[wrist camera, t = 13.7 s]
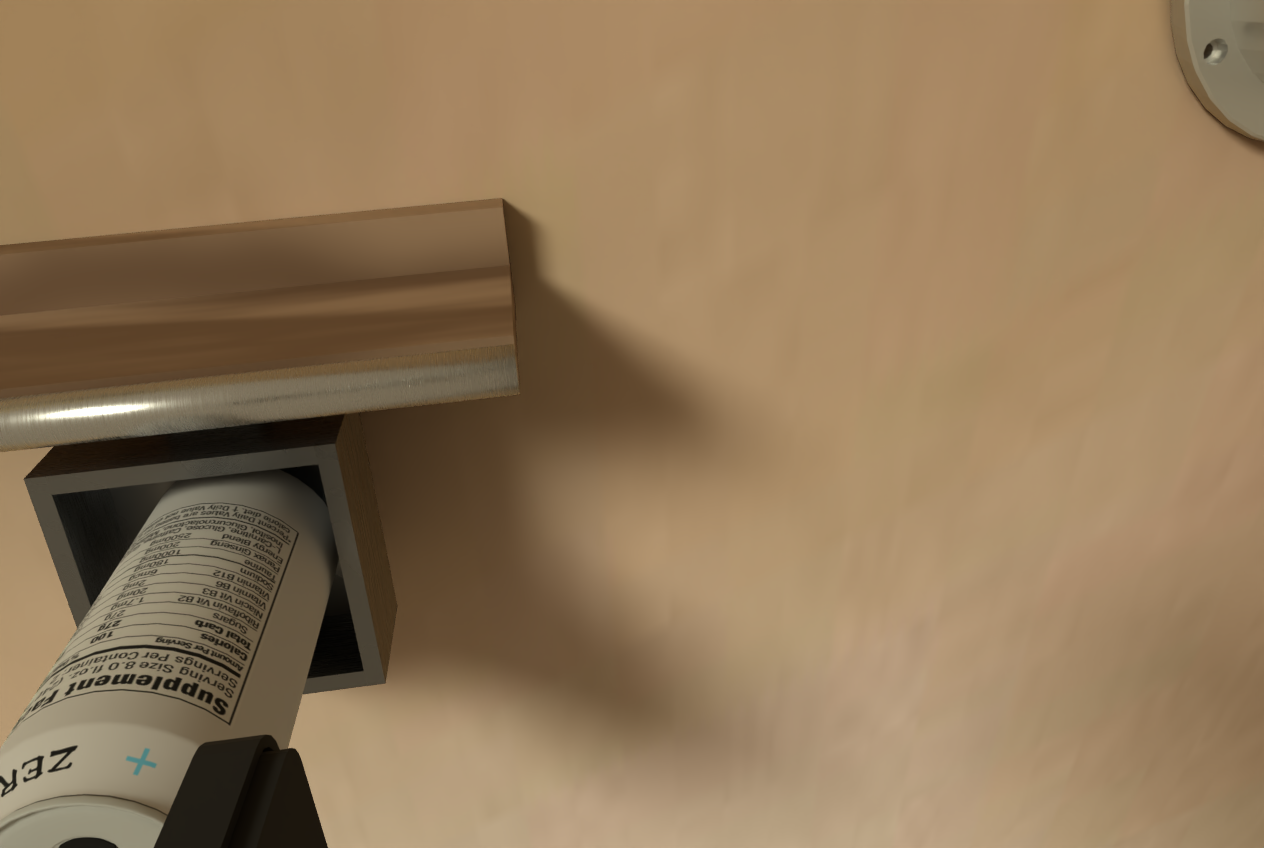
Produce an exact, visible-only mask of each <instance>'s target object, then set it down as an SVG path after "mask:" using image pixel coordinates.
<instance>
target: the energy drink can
mask: <svg viewBox="0 0 1264 848" xmlns="http://www.w3.org/2000/svg"><path fill="white" fill-rule="evenodd" d="M338 562H339V556H338V552H337V547H336V543H335V538H334V534H333V529H332V524H331V520H330V515H329V511H328V507H327V506H326V504H325V503H324V501H323V500H322V499H321V498H320V497H319V496H318V495H317V494H316V493H315V492H314V491H313V490H312V489H311V488H310V487H309V486H307V485H306V484H304V483H303V482H302V481H300V480H299V479H298V478H296V477H294V476H292V475H290V474H288V473H286V472H284V471H282V470H279V469H273V470H264V471H256V472H247V473H238V474H229V475H221V476H212V477H203V478H195V479H186V480H179V481H177V482H176V483H174V484H173V485H172V486H171V488H170V489H169V490H168V491H167V492H166V493H165V494H164V495H163V496H162V498H161V499H160V501H159V503H158V504H157V506H156V507H155V509H154V510H153V512H152V513H151V515H150V517H149V518H148V520H147V521H146V523H145V524H144V526H143V527H142V529H141V530H140V532H139V534H138V535H137V537H136V538H135V540H134V541H133V543H132V544H131V546H130V548H129V549H128V551H127V552H126V554H125V555H124V557H123V558H122V560H121V562H120V563H119V565H118V566H117V568H116V569H115V571H114V572H113V574H112V576H111V577H110V579H109V580H108V582H107V583H106V585H105V586H104V588H103V590H102V591H101V593H100V594H99V596H98V597H97V599H96V600H95V602H94V604H93V605H92V607H91V608H90V610H89V611H88V613H87V614H86V616H85V618H84V619H83V621H82V622H81V624H80V625H79V627H78V628H77V630H76V632H75V633H74V635H73V636H72V638H71V639H70V641H69V642H68V644H67V646H66V647H65V649H64V650H63V652H62V653H61V655H60V656H59V658H58V660H57V661H56V663H55V664H54V666H53V667H52V669H51V670H50V672H49V673H48V675H47V677H46V678H45V680H44V681H43V683H42V684H41V686H40V687H39V689H38V691H37V692H36V694H35V695H34V697H33V698H32V700H31V701H30V703H29V705H28V706H27V708H26V709H25V711H24V712H23V714H22V715H21V717H20V719H19V720H18V722H17V723H16V725H15V726H14V728H13V729H12V731H11V733H10V734H9V736H8V737H7V739H6V740H5V742H4V743H3V745H2V747H1V748H0V848H154V845H155V843H156V841H157V838H158V836H159V834H160V832H161V829H162V827H163V825H164V822H165V820H166V818H167V815H168V813H169V811H170V809H171V806H172V804H173V802H174V799H175V797H176V795H177V792H178V790H179V788H180V785H181V783H182V781H183V779H184V776H185V774H186V772H187V769H188V767H189V765H190V762H191V760H192V758H193V756H194V754H195V752H196V751H197V749H198V747H199V746H200V745H202V744H203V743H205V742H211V741H219V740H227V739H235V738H242V737H250V736H258V735H265V734H267V735H272V737H273V738H274V739H275V740H276V742H277V744H278V746H279V749H280V750H282V749H288V746H289V742H290V738H291V735H292V731H293V727H294V724H295V720H296V716H297V713H298V709H299V705H300V701H301V698H302V694H303V690H304V687H305V683H306V679H307V676H308V672H309V668H310V665H311V661H312V657H313V654H314V650H315V646H316V643H317V639H318V635H319V632H320V628H321V624H322V620H323V617H324V613H325V609H326V606H327V602H328V598H329V595H330V591H331V587H332V584H333V580H334V576H335V573H336V569H337V565H338Z"/></svg>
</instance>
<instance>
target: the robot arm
mask: <svg viewBox="0 0 1264 848" xmlns="http://www.w3.org/2000/svg"><path fill="white" fill-rule="evenodd" d="M1171 27H1172V32H1173V38H1174V44H1175V49H1176V55H1177V58H1178V60H1179V63H1180V65H1181V67H1182V70H1183V72H1184V75H1185V77H1186V80H1187V82H1188V85H1189V86H1190V87H1191V89H1192V90H1193V92H1194V93H1195V95H1196V96H1197V97H1198V99H1199V100H1200V102H1201V103H1202V105H1203V106H1204V108H1205V109H1207V110H1208V111H1209V112H1210V113H1211V114H1212V115H1214V116H1215V117H1216V118H1217V119H1218V120H1219V121H1220V122H1222V123H1223V124H1224V125H1225V126H1226V127H1228V128H1230V129H1232V130H1234V131H1236V132H1238V133H1240V134H1242V135H1244V136H1246V137H1248V138H1251V139H1255V140H1259V141H1263V142H1264V0H1171ZM154 848H328V847H327V843H326V840H325V837H324V833H323V830H322V827H321V823H320V820H319V817H318V814H317V810H316V807H315V804H314V800H313V797H312V794H311V790H310V787H309V784H308V781H307V777H306V774H305V771H304V767H303V764H302V761H301V758H300V756H299V753H298V752H297V751H296V749H293V748H289V749H282V750H280V749H279V746H278V744H277V742H276V740H275V739H274V738H273V737H272V735H267V734H265V735H258V736H250V737H242V738H235V739H227V740H219V741H211V742H205V743H203V744H202V745H200V746H199V747H198V749H197V751H196V752H195V754H194V756H193V758H192V760H191V762H190V765H189V767H188V769H187V772H186V774H185V776H184V779H183V781H182V783H181V785H180V788H179V790H178V792H177V795H176V797H175V799H174V802H173V804H172V806H171V809H170V811H169V813H168V815H167V818H166V820H165V822H164V825H163V827H162V829H161V832H160V834H159V836H158V838H157V841H156V843H155V845H154Z"/></svg>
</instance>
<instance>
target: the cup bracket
mask: <svg viewBox="0 0 1264 848" xmlns="http://www.w3.org/2000/svg"><path fill="white" fill-rule="evenodd" d="M515 320H516V309H515V300H514V292H513V283H512V275H511V267H510V259H509V250H508V242H507V234H506V226H505V217H504V209H503V201H502V198H500V199H489V200H479V201H468V202H457V203H447V204H436V205H425V206H415V207H404V208H393V209H383V210H372V211H362V212H351V213H340V214H330V215H319V216H308V217H298V218H287V219H276V220H266V221H255V222H244V223H234V224H223V225H212V226H202V227H191V228H181V229H170V230H159V231H149V232H138V233H127V234H117V235H106V236H95V237H85V238H74V239H63V240H53V241H42V242H32V243H21V244H10V245H0V452H7V451H16V450H25V449H34V448H43V447H52V446H54V447H53V448H52V449H51V450H50V451H49V453H48V454H47V455H46V456H45V457H44V458H43V459H42V460H41V461H40V462H39V463H38V464H37V465H36V466H35V467H34V469H33V470H32V471H31V472H30V473H29V474H28V475H27V476H26V477H25V478H24V481H25V484H26V487H27V489H28V492H29V495H30V498H31V501H32V503H33V506H34V509H35V512H36V515H37V517H38V520H39V523H40V526H41V528H42V531H43V534H44V537H45V540H46V542H47V545H48V548H49V551H50V554H51V556H52V559H53V562H54V565H55V567H56V570H57V573H58V576H59V579H60V581H61V584H62V587H63V590H64V593H65V595H66V598H67V601H68V604H69V606H70V609H71V612H72V615H73V618H74V620H75V623H76V626H77V628H78V627H79V625H80V624H81V622H82V621H83V619H84V618H85V616H86V614H87V613H88V611H89V610H90V608H91V607H92V605H93V604H94V602H95V600H96V599H97V597H98V596H99V594H100V593H101V591H102V590H103V588H104V586H105V585H106V583H107V582H108V580H109V579H110V577H111V576H112V574H113V572H114V571H115V569H116V568H117V566H118V565H119V563H120V562H121V560H122V558H123V557H124V555H125V554H126V552H127V551H128V549H129V548H130V546H131V544H132V543H133V541H134V540H135V538H136V537H137V535H138V534H139V532H140V530H141V529H142V527H143V526H144V524H145V523H146V521H147V520H148V518H149V517H150V515H151V513H152V512H153V510H154V509H155V507H156V506H157V504H158V503H159V501H160V499H161V498H162V496H163V495H164V494H165V493H166V492H167V491H168V490H169V489H170V488H171V486H172V485H173V484H174V483H176V482H177V481H179V480H186V479H195V478H203V477H212V476H221V475H229V474H238V473H247V472H256V471H264V470H273V469H279V470H282V471H284V472H286V473H288V474H290V475H292V476H294V477H296V478H298V479H299V480H300V481H302V482H303V483H304V484H306V485H307V486H309V487H310V488H311V489H312V490H313V491H314V492H315V493H316V494H317V495H318V496H319V497H320V498H321V499H322V500H323V501H324V503H325V504H326V506H327V507H328V511H329V515H330V520H331V524H332V529H333V534H334V538H335V543H336V547H337V552H338V556H339V562H338V565H337V569H336V573H335V576H334V580H333V584H332V587H331V591H330V595H329V598H328V602H327V606H326V609H325V613H324V617H323V620H322V624H321V628H320V632H319V635H318V639H317V643H316V646H315V650H314V654H313V657H312V661H311V665H310V668H309V672H308V676H307V679H306V683H305V687H304V690H303V694H309V693H317V692H324V691H332V690H339V689H347V688H354V687H362V686H369V685H377V684H384V683H386V677H387V670H388V664H389V657H390V651H391V644H392V638H393V631H394V625H395V618H396V612H397V602H396V597H395V592H394V587H393V582H392V577H391V571H390V566H389V561H388V556H387V551H386V546H385V541H384V536H383V531H382V526H381V521H380V516H379V511H378V506H377V501H376V495H375V490H374V485H373V480H372V475H371V470H370V465H369V460H368V455H367V450H366V445H365V440H364V435H363V430H362V424H361V419H360V414H359V412H368V411H377V410H386V409H395V408H404V407H413V406H422V405H431V404H441V403H450V402H459V401H468V400H477V399H486V398H495V397H504V396H513V395H520V388H519V369H518V353H517V337H516V321H515Z"/></svg>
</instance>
